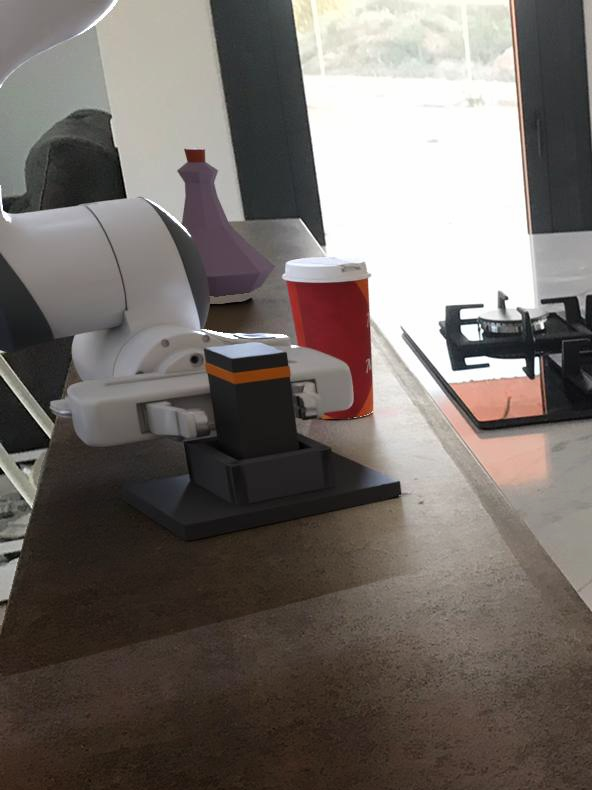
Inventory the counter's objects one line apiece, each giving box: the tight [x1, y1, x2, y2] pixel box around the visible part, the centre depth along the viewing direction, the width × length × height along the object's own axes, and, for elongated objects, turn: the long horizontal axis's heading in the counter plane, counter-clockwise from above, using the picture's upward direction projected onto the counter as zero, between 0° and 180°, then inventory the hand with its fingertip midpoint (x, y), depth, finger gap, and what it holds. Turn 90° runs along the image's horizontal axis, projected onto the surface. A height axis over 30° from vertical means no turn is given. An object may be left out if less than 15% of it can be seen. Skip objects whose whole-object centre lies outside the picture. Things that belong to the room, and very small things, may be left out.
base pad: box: [121, 432, 402, 542], centre depth 96 cm, size 16×12×4 cm
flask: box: [176, 147, 276, 297], centre depth 176 cm, size 16×16×20 cm
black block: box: [204, 342, 299, 461], centre depth 94 cm, size 4×5×10 cm
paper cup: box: [281, 256, 374, 420], centre depth 119 cm, size 8×8×14 cm
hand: (258, 417), depth 93 cm, fingers open, 7 cm apart
